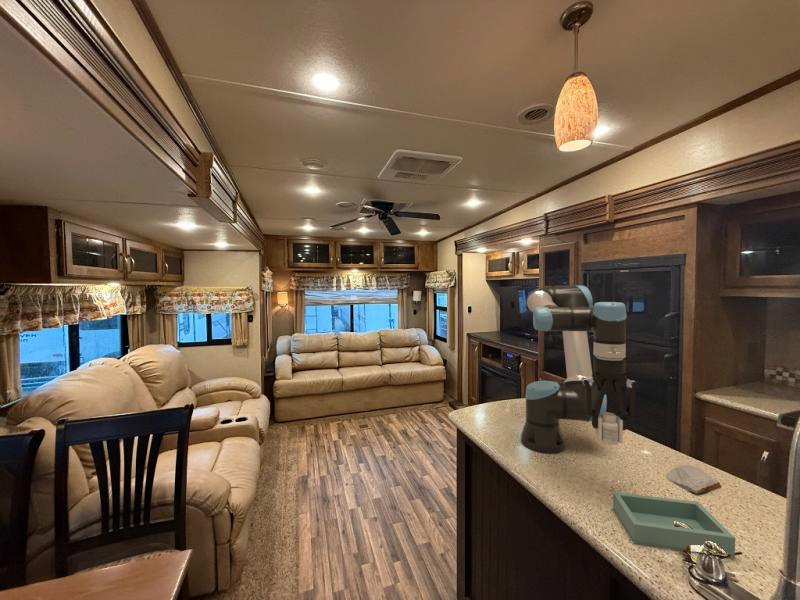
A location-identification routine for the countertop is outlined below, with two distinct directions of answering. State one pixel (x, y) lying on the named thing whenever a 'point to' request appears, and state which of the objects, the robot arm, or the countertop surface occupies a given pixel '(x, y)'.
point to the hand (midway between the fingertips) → (608, 440)
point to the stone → (692, 479)
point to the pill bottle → (609, 428)
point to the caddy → (669, 523)
